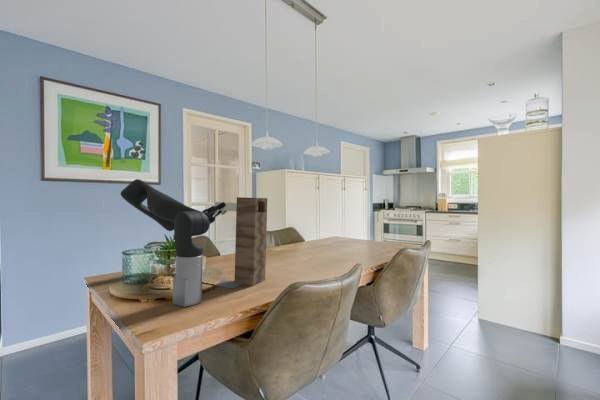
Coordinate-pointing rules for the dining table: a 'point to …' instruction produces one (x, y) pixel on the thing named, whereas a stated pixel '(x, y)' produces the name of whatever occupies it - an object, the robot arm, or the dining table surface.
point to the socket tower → (250, 240)
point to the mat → (228, 284)
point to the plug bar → (228, 206)
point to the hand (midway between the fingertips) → (227, 203)
